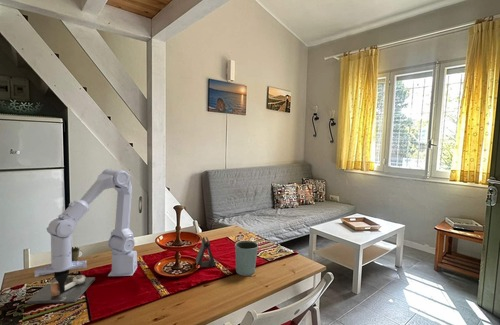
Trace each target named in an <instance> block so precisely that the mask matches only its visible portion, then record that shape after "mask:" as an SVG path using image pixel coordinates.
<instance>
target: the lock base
mask: <svg viewBox="0 0 500 325" xmlns="http://www.w3.org/2000/svg"><path fill="white" fill-rule="evenodd" d="M73 278H74V277H67V278H66V281H65V285H67V284H69V283H71V282H73ZM94 281H96V277H93V276H92V277H90V276H89V277H86V276H85V282H84V283H82V284H78V285H74V286H73V287H71V288H69V289H67V290H65V291H64V292H63V293H60V294H59V295H57V296H51V284H52V283H54V282H58V281H57V280H56V279H55V277H53V279H51V281H49V282H46V283H45V285H44V286H43V287H42V288H41V289H40V290H39V291H37V292H36V293H35V294H34V295H32V296H31V297H30V298H29V299H28V300H27V301H26V304H27V305H36V304H39V305H40V304H57V303H60V304H61V303H76V302H77V301H78V300H79V299H80V298H81V296H82V295H83V294H84V293H85V292H86V291H87V290H88V288H89V287H90V286H91V285H92V284H93V283H94Z"/></svg>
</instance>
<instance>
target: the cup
mask: <svg viewBox="0 0 500 325" xmlns="http://www.w3.org/2000/svg"><path fill="white" fill-rule="evenodd" d="M71 252H72V261H79V260H78V259H79V255H80V247H78V246H71Z"/></svg>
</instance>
